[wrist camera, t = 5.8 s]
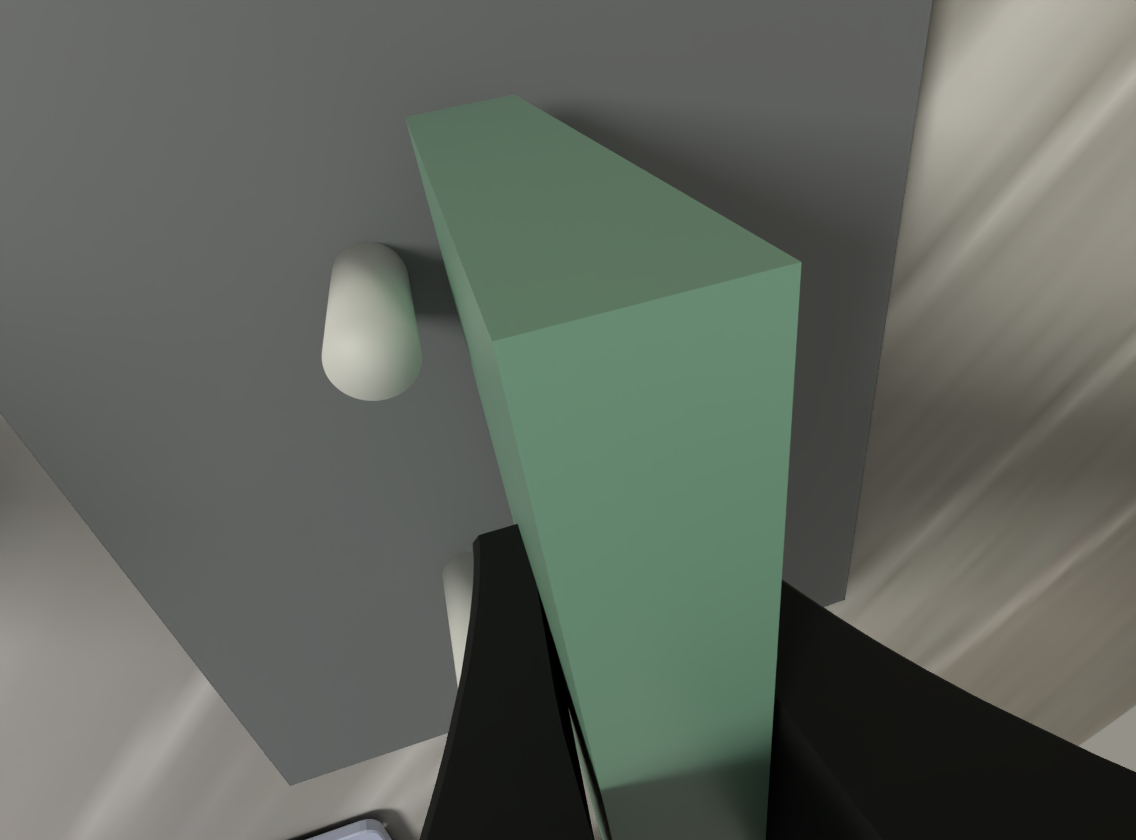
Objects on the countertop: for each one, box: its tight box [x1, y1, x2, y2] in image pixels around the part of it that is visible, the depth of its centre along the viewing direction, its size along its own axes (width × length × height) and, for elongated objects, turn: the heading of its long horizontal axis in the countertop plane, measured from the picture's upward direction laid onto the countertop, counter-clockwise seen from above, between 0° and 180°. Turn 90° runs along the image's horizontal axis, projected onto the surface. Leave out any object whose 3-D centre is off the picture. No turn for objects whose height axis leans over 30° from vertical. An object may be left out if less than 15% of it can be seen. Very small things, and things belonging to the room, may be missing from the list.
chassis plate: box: [0, 0, 932, 786], centre depth 12 cm, size 18×16×4 cm
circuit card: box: [405, 94, 801, 840], centre depth 9 cm, size 12×2×7 cm, turn 9°
